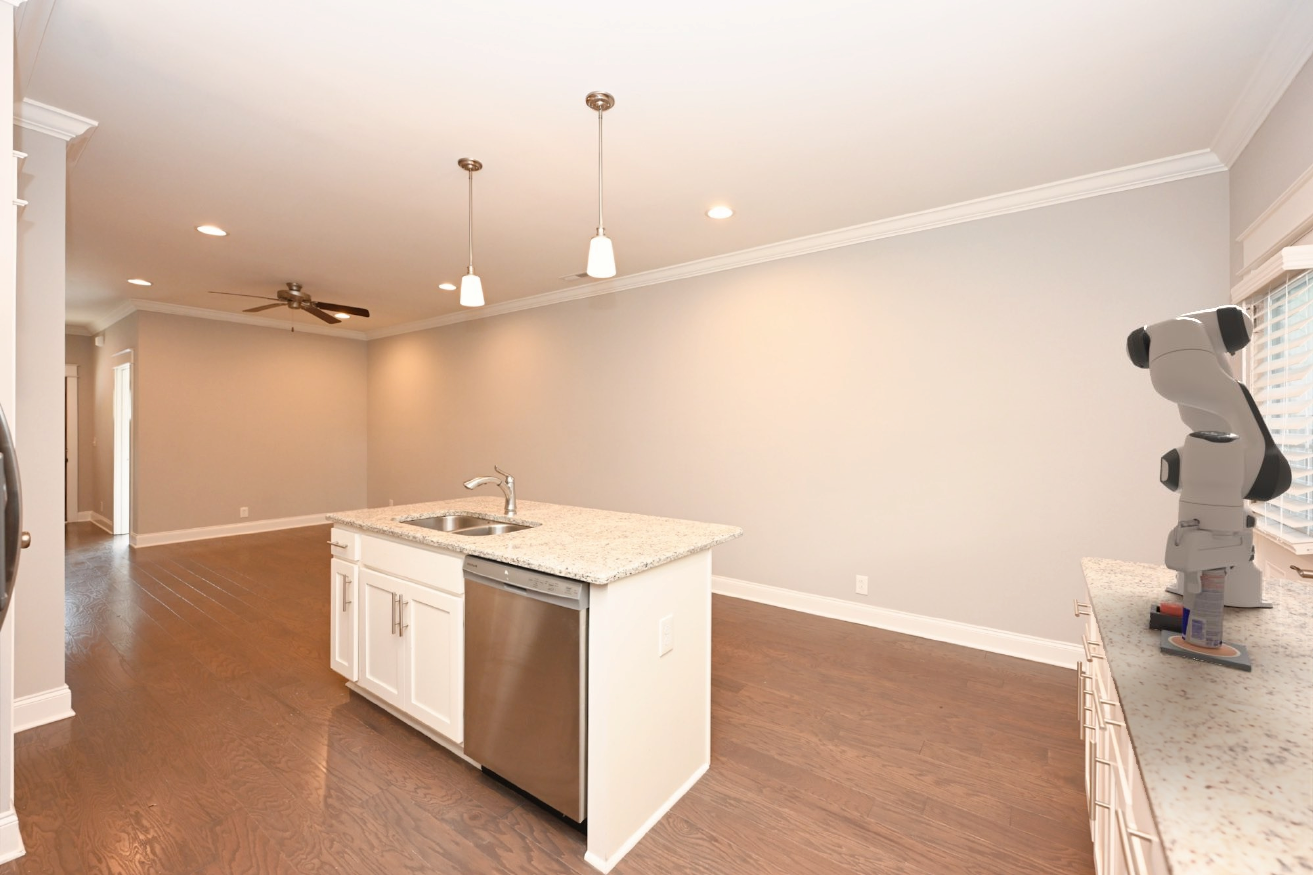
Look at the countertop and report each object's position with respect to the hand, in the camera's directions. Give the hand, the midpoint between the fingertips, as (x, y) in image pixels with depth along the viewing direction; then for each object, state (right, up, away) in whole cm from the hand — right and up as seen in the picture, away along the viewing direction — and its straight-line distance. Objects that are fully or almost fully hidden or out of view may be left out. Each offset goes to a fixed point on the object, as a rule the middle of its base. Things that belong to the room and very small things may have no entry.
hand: (1206, 590), depth 109 cm
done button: (+5, -9, +12) cm, 16 cm away
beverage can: (0, -11, +1) cm, 11 cm away
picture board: (0, -12, 0) cm, 12 cm away
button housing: (+5, -11, +12) cm, 17 cm away
